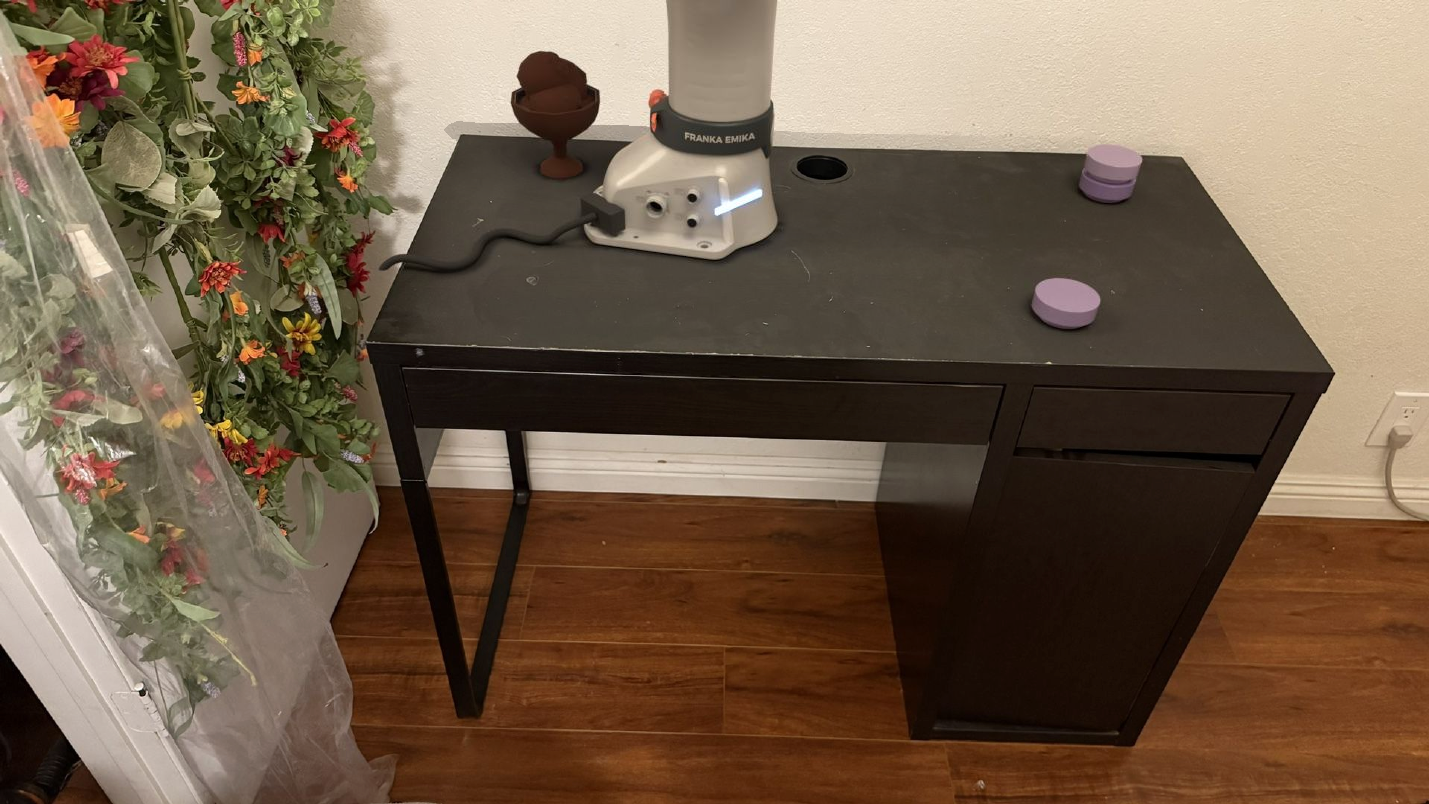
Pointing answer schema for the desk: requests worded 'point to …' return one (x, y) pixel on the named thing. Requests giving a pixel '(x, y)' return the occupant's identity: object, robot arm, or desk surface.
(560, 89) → the ice cream bowl
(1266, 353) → the desk surface
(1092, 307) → the dish front
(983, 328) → the desk surface
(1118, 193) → the dish bottom
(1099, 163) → the dish top
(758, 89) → the robot arm
